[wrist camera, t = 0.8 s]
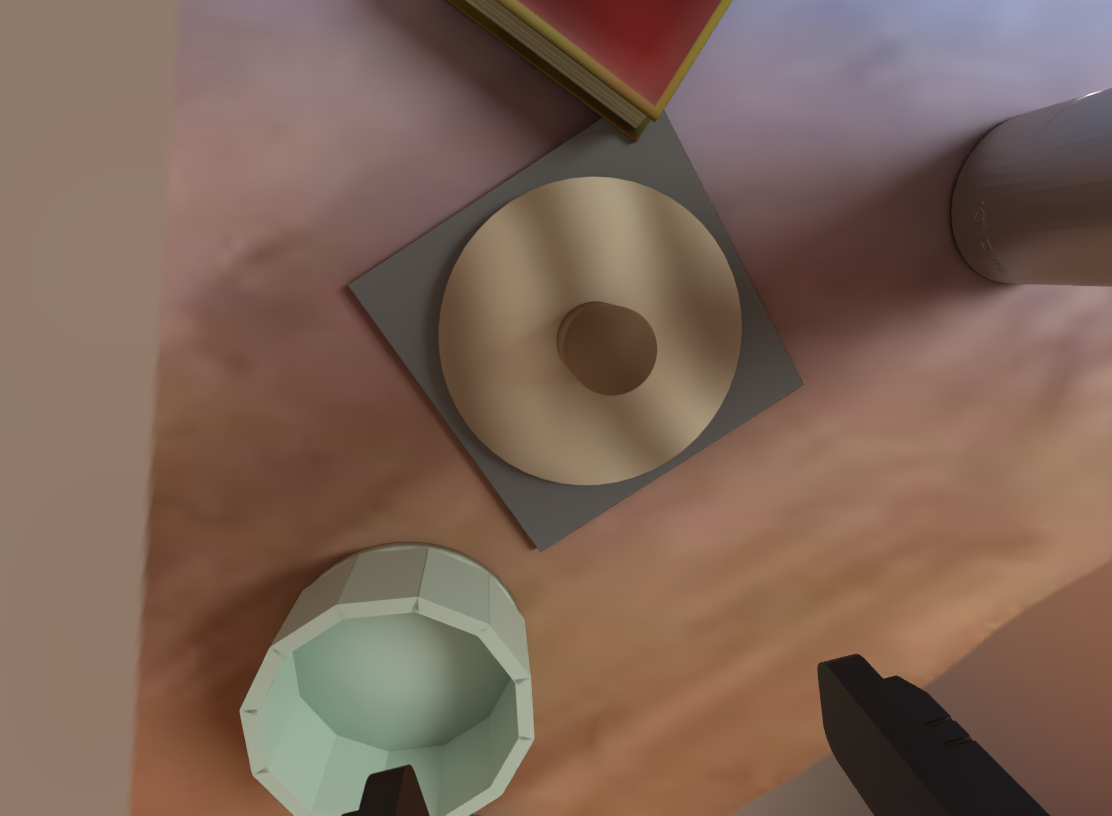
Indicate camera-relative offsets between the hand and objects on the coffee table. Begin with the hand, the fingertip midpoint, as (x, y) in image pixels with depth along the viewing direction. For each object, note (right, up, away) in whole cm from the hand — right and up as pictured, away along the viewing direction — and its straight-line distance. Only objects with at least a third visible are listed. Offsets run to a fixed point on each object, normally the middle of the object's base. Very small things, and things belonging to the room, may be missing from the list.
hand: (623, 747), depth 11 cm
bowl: (-10, -8, +23) cm, 27 cm away
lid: (+1, +10, +20) cm, 22 cm away
